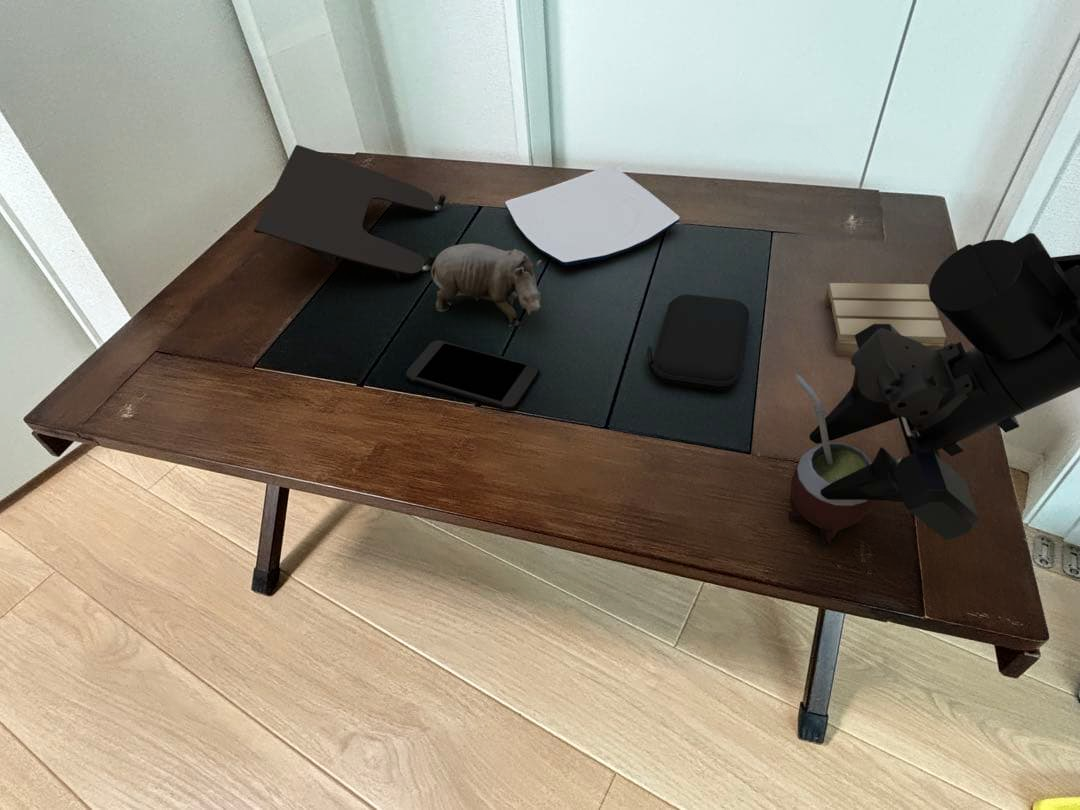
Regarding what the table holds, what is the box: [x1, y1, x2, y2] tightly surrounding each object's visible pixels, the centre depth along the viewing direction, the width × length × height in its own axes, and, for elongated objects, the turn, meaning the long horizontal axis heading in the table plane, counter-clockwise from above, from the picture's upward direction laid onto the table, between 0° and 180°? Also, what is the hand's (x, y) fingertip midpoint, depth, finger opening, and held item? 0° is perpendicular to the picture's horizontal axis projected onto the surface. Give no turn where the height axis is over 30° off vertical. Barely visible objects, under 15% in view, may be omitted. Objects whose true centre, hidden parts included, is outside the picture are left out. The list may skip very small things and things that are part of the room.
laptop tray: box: [253, 144, 447, 279], centre depth 104 cm, size 23×23×9 cm
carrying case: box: [646, 293, 750, 391], centre depth 83 cm, size 11×3×15 cm
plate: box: [504, 164, 681, 267], centre depth 103 cm, size 20×20×3 cm
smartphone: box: [405, 339, 540, 410], centre depth 84 cm, size 7×15×1 cm, turn 64°
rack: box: [823, 282, 947, 357], centre depth 83 cm, size 11×10×3 cm
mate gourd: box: [787, 373, 876, 548], centre depth 62 cm, size 8×8×15 cm
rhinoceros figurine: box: [430, 242, 543, 328], centre depth 90 cm, size 8×14×15 cm
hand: (817, 466), depth 62 cm, fingers closed on mate gourd, 6 cm apart
